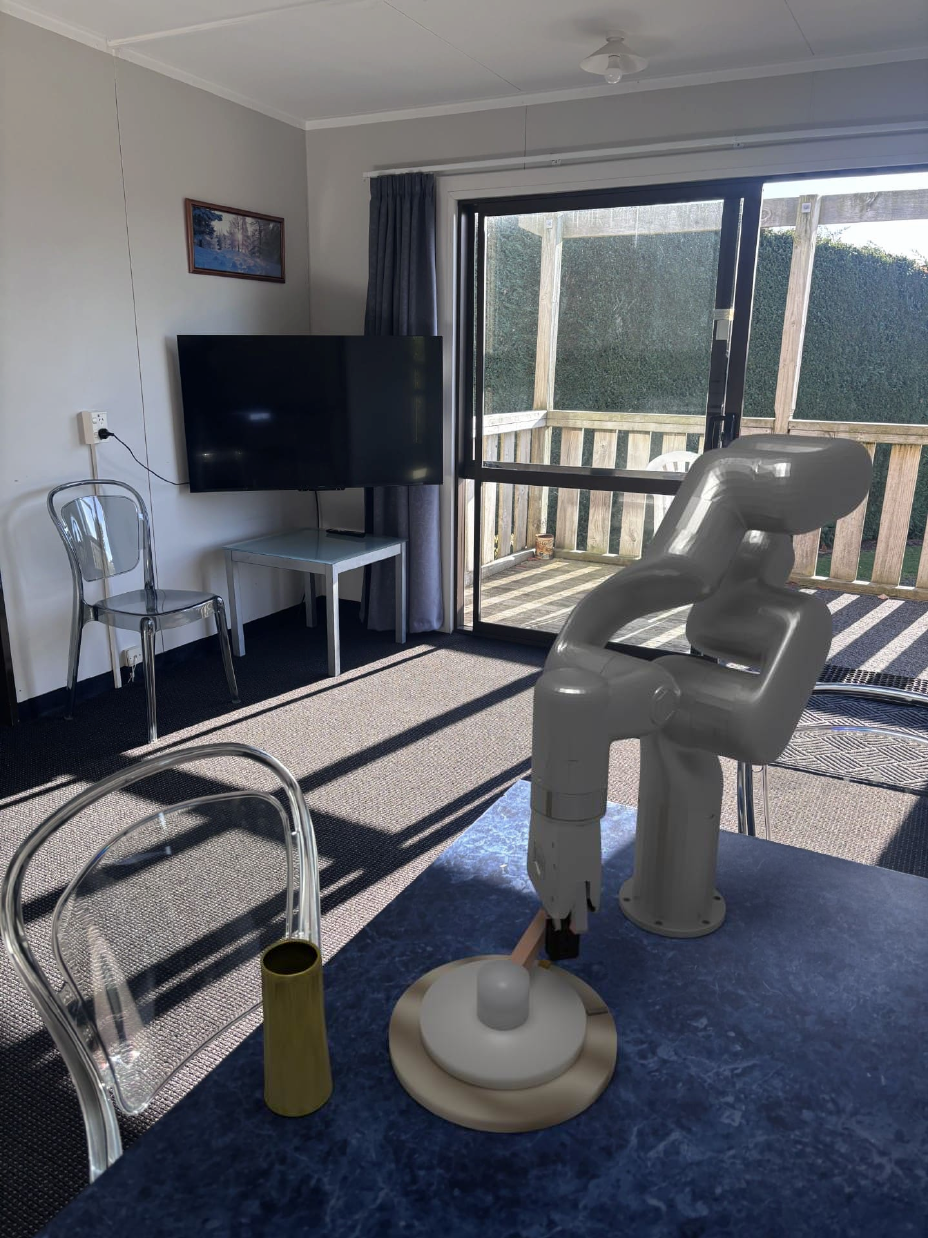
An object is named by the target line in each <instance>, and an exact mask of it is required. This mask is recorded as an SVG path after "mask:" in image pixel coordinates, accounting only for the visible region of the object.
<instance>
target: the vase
mask: <svg viewBox="0 0 928 1238" xmlns="http://www.w3.org/2000/svg"><path fill="white" fill-rule="evenodd" d="M259 965H260V976H261V977H260V980H261V1000H262V1001H261V1002H262V1004H261V1005H262V1018H263V1019H262V1021H263V1063H264V1065H263V1066H264V1068H263V1071H264V1072H263V1073H264V1091H263V1097H264V1101H265V1103H266V1105H267V1106H268V1108H269V1109H270V1110H271V1111H272V1112H274V1113H276V1114H278V1115H281V1116H285V1117H291V1118H295V1117H297V1118H298V1117H302V1116H307V1115H309V1114H312V1113H314V1112H316V1111H317V1110H319V1109H320V1108H322V1106H324V1104H325V1103H327V1101H328V1100H329V1098H330V1097H331V1095H332V1091H333V1087H334V1086H333V1083H334V1082H333V1079H332V1071H331V1063H330V1054H329V1044H328V1036H327V1028H326V1017H325V999H324V997H325V996H324V980H323V979H324V978H323V975H324V974H323V957H322V953H321V950H320V948H319V947H318V945H316V944H315V943H314V942H312V941H310V940H307V939H304V938H287V939H283V940H280V941H278V942H275V943H273V944H271V945H269V946H267V948H266V949H264V951H263V952H262V954H261V956H260V959H259Z"/></svg>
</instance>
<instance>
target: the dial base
mask: <svg viewBox="0 0 928 1238" xmlns="http://www.w3.org/2000/svg"><path fill="white" fill-rule="evenodd" d="M510 956H511V954H486V955H485V954H484V955H483V954H482V955H476V956H470V957H465V958H461V959H457V960H454V961H451V962H449V963H445V964H443V965H440V966H438V967H435V968H434V969H432V970H430V971H428V972H427V973H425V974H424V975H422V976H420V977H419V978H418V979H416V980H415V981H414V982H413V983H412V984H411V985H409V987H408V988H406V990H405V991H404V992H403V994H402V995H401V996H400V998H399V999H398V1001H397V1002H396V1004H395V1006H394V1008H393V1011H392V1013H391V1016H390V1020H389V1026H388V1027H389V1028H388V1040H389V1041H388V1042H389V1043H388V1045H389V1046H388V1047H389V1049H388V1051H389V1056H390V1061H391V1066H392V1068H393V1070H394V1073H395V1075H396V1078H397V1079H398V1081H399V1082H400V1084H401V1085H402V1087H403V1088H404V1089H405V1091H406V1092H407V1093H408V1094H409V1095H410V1096H411V1097H412V1098H413V1099H414V1100H415V1101H416V1102H418V1104H419V1105H421V1106H422V1107H424V1109H426V1110H428V1111H429V1112H431V1113H433V1115H435V1116H438V1117H440V1118H441V1119H444V1120H446V1121H448V1122H450V1123H453V1124H456V1125H458V1126H461V1127H463V1128H468V1129H473V1130H477V1131H481V1132H491V1133H503V1134H504V1133H505V1134H507V1133H508V1134H513V1133H526V1132H527V1133H528V1132H533V1131H538V1130H543V1129H547V1128H549V1127H550V1128H551V1127H553V1126H556V1125H559V1124H561V1123H564V1122H566V1121H568V1120H570V1119H572V1118H574V1117H576V1116H577V1115H579V1114H581V1113H582V1112H584V1111H585V1110H587V1109H588V1108H589V1107H590V1106H591V1105H592V1104H594V1103H595V1102H596V1101H597V1100H598V1099H599V1098H600V1096H601V1095H602V1094H603V1092H605V1089H606V1088H607V1086H608V1085H609V1083H610V1082H611V1079H612V1076H613V1075H614V1074H613V1073H614V1071H615V1067H616V1063H617V1052H618V1034H617V1028H616V1023H615V1020H614V1018H613V1015H612V1012H611V1011H610V1009H609V1007H608V1005H607V1004H606V1003H605V1001H604V1000H603V999H602V997H601V996H600V995H599V994H598V993H597V992H596V991H595V990H594V989H593V988H592V986H590V985H589V984H588V983H587V982H585V981H584V980H582V979H581V978H579V977H578V976H577V975H575V974H573V973H572V972H570V971H568V970H566V969H564V968H562V967H560V966H557V965H554V964H552V961H550V960H549V959H545V958H541V960H540V959H537V958H536V959H535V961H534V963H533V964H535V965H538V966H541V967H543V968H545V969H547V970H550V971H551V972H553V973H555V974H557V975H558V976H560V977H561V978H562V979H564V980H565V981H566V982H567V983H568V984H570V985H571V986H572V988H573V989H574V990H575V991H576V992H577V994H578V995H579V997H580V999H581V1001H582V1003H583V1005H584V1008H585V1013H586V1035H585V1042H584V1046H583V1048H582V1051H581V1053H580V1055H579V1056H578V1058H577V1059H576V1061H575V1062H574V1063H573V1064H572V1065H571V1066H570V1067H569V1068H568V1069H567V1070H566V1071H565V1072H563V1073H562V1074H560V1075H559V1076H557V1077H555V1078H553V1079H551V1080H549V1081H547V1082H545V1083H542V1084H539V1085H536V1086H532V1087H527V1088H520V1089H491V1088H486V1087H480V1086H477V1085H473V1084H470V1083H467V1082H465V1081H462V1080H460V1079H458V1078H456V1077H454V1076H452V1075H451V1074H449V1073H448V1072H446V1071H445V1070H443V1069H442V1068H441V1067H440V1066H439V1065H438V1064H437V1063H435V1062H434V1060H433V1059H432V1058H431V1057H430V1055H429V1054H428V1052H427V1051H426V1049H425V1047H424V1045H423V1042H422V1039H421V1033H420V1008H421V1003H422V1000H423V998H424V996H425V994H426V992H427V991H428V989H429V988H430V987H431V986H432V984H433V983H434V982H435V981H436V980H438V979H439V978H440V977H441V976H443V975H444V974H446V973H447V972H449V971H451V970H453V969H455V968H457V967H459V966H462V965H465V964H468V963H471V962H476V961H481V960H490V959H509V957H510Z"/></svg>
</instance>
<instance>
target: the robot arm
mask: <svg viewBox="0 0 928 1238" xmlns="http://www.w3.org/2000/svg"><path fill="white" fill-rule="evenodd" d="M873 475H874V466H873V460H872V455H871V454H870V452H869V450H868V449H867V448H866V446H864V444H862V443H861V442H859V441H857V440H856V439H855V440H854V439H851V438H845V437H844V438H843V437H829V436H814V435H812V436H811V435H802V434H801V435H799V434H788V433H787V434H786V433H753V434H752V433H751V434H746V435H742V436H739V437H737V438H735V439H733V440H732V441H731V442H730V443H729V444H728V445H727V447H720V448H719V447H717V448H713V449H710V450H707V451H705V452H703V453H701V454H700V455H699V456H697V458H696V459H695V460H694V462H693V463H692V464H691V465H690V467H689V468H688V470H687V472H686V474H685V476H684V478H683V479H682V481H681V484H680V486H679V488H678V490H677V491H676V493H675V495H674V497H673V499H672V501H671V503H670V505H669V507H668V508H667V511H666V512H665V515H664V516H663V518H662V520H661V522H660V523H659V525H658V528H657V530H656V531H655V533H654V535H653V537H652V539H651V541H650V542H649V545H648V547H647V549H646V550H645V552H644V553H643V555H642V556H641V557H640V558H639V559H637V560H636V561H634V562H632V563H630V564H629V565H627V566H625V567H623V568H621V569H620V570H619V571H617V572H615V573H614V574H613V575H610V576H609V577H608V578H607V579H604V581H602V582H601V583H600V584H598V585H597V586H596V587H594V588H593V589H592V590H591V591H589V592H587V593H586V594H585V596H583V597H582V598H581V599H580V600H579V601H578V602H577V603H576V604H575V606H574V607H573V608H572V610H571V611H570V613H569V614H568V616H567V617H566V620H565V621H564V623H563V624H562V627H561V629H560V631H559V632H558V634H557V636H556V639H555V640H554V642H553V643H552V646H551V648H550V650H549V652H548V655H547V656H546V657H547V658H546V659H545V663H544V666H543V671H542V674H541V675H540V676H539V677H538V679H537V680H536V682H535V684H534V688H533V695H532V696H533V697H532V698H533V699H532V732H531V733H532V734H531V735H532V736H531V763H530V764H531V767H530V768H531V770H530V771H531V773H530V793H529V794H530V797H529V807H530V808H529V809H530V817H529V827H528V838H527V839H528V840H527V854H526V871H527V876H528V878H529V880H530V883H531V884H532V886H533V889H534V890H535V892H536V894H537V896H538V898H539V900H540V902H541V904H542V905H544V907H545V910H546V915H547V917H551V919H546V929H545V944H544V951H545V953H546V955H547V957H548V960H549V961H551V962H558V961H567V960H571V959H574V960H575V959H577V958H578V957H580V941H581V940H580V938H581V934H587V933H588V931H589V930H588V928H589V927H588V926H589V925H588V924H589V923H588V912H589V914H591V916H596V914H597V913H598V912H599V909H600V905H601V896H602V876H603V875H602V872H603V870H602V869H603V862H602V861H603V859H602V858H603V857H602V855H603V854H602V849H603V848H602V827H601V820H602V819H604V817H605V816H606V815H607V809H608V807H607V806H608V794H609V793H608V790H609V789H608V788H609V775H610V774H609V773H610V772H609V770H610V758H611V757H610V752H611V746H612V744H613V743H614V742H618V741H623V740H624V741H625V740H631V739H637V738H638V739H639V751H640V752H639V754H640V755H639V756H640V757H639V778H638V792H637V793H638V794H637V795H638V797H637V810H636V825H635V826H636V827H635V842H634V856H633V857H634V858H633V859H634V860H633V874H632V876H631V877H629V878H628V879H627V880H625V881H624V882H623V884H622V885H621V887H620V889H619V890H618V891H619V892H618V905H619V907H620V908H619V909H620V910H621V912H622V913H623V914H624V916H625V917H626V918H627V919H628V920H629V921H630V922H632V923H633V924H634V925H637V926H638V927H640V928H642V929H644V930H646V932H647V931H648V932H650V933H653V934H656V935H659V936H664V937H669V938H676V939H677V938H679V939H682V938H683V939H685V938H686V939H687V938H697V937H702V936H705V935H708V934H711V933H712V932H715V931H716V930H717V929H719V927H721V926H722V925H723V923H724V921H725V918H726V913H727V912H726V910H727V905H726V902H725V899H724V898H723V896H722V894H721V892H719V891H718V890H717V888H715V883H716V872H717V859H718V851H719V839H720V830H721V829H720V827H721V815H722V807H723V805H722V804H723V796H724V787H725V786H724V781H725V779H724V772H723V768H722V764H721V761H720V758H719V757H720V756H721V757H723V758H727V759H730V760H732V761H736V762H740V763H743V764H747V765H751V766H757V767H762V766H763V767H764V766H767V765H770V764H772V763H774V762H775V761H777V760H778V759H779V758H780V757H781V756H782V755H783V753H784V752H785V750H786V749H787V748H788V745H789V743H790V741H791V739H792V737H793V735H794V733H795V731H796V729H797V727H798V725H799V722H800V720H801V718H802V716H803V713H804V711H805V709H806V707H807V704H808V702H809V700H810V698H811V696H812V693H813V691H814V689H815V687H816V684H817V682H818V680H819V678H820V676H821V673H823V669H824V666H825V665H826V662H827V659H828V657H829V654H830V650H831V646H832V642H833V635H834V620H833V615H832V611H831V610H830V608H829V606H828V605H827V604H826V603H825V602H824V600H822V599H821V598H819V597H818V596H816V595H813V594H810V593H808V592H805V591H799V590H795V589H789V588H785V587H786V586H787V583H788V580H789V578H790V575H791V574H792V571H793V569H794V566H795V561H796V553H795V548H794V546H793V543H792V540H791V537H790V536H800V535H806V534H809V533H812V532H815V531H817V530H819V529H821V528H824V527H826V526H828V525H829V524H832V523H834V522H836V521H839V520H841V519H843V518H845V517H847V516H849V515H851V514H852V513H853V512H855V510H856V509H858V507H860V506H861V504H862V503H863V502H864V500H865V499H866V497H867V495H868V493H869V491H870V489H871V487H872V486H871V485H872V482H873V477H874V476H873ZM690 605H692V606H691V608H690V609H689V610H690V611H689V613H688V615H687V618H686V621H685V631H684V633H685V637H686V640H687V642H688V644H689V645H690V646H691V647H692V648H693V649H694V650H696V651H698V652H700V653H701V654H704V655H706V656H709V657H710V658H713V659H717V660H720V661H724V662H728V663H730V664H731V663H732V664H735V665H739V666H744V667H747V668H750V669H755V670H758V671H760V672H759V673H758V674H757V673H753V672H750V671H746V670H742V669H737V668H735V667H734V668H733V667H730V666H728V665H724V664H721V663H717V662H712V661H710V660H705V659H701V658H698V657H694V656H689V655H682V654H681V655H680V654H679V655H678V654H671V655H670V654H667V655H663V656H659V657H657V658H654V659H653V660H651V661H649V660H645V659H642V658H638V657H635V656H632V655H628V654H626V653H625V654H624V653H621V652H618V651H614V650H612V649H607V648H605V647H606V645H607V643H608V642H609V641H610V639H612V638H613V637H614V635H616V634H617V632H618V631H619V630H621V629H623V628H624V627H625V626H627V625H628V624H630V623H632V622H634V621H636V620H638V619H640V618H643V617H645V616H649V615H651V614H652V615H653V614H655V613H660V612H664V611H668V610H672V609H673V610H674V609H676V608H677V609H678V608H681V607H684V606H690Z"/></svg>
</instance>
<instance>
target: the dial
mask: <svg viewBox="0 0 928 1238" xmlns="http://www.w3.org/2000/svg"><path fill="white" fill-rule="evenodd" d="M546 919H551V917H547V915H546V910H545V907H544V905H543V904H542V905H541V906H540V908H539V910H538V911H537V913H536V915H535V916H534V918H533V920H532V921H531V923H530V924H529V926H528V927H527V929H526V930H525V932H524V934H523V935H522V936H521V938H520V939H519V941H518V943H517V944H516V947H515V948H514V950H513V951H512V953H510V955H511V956H510V957H509V959H490V960H481V961H476V962H471V963H468V964H465V965H462V966H459V967H457V968H455V969H453V970H451V971H449V972H447V973H446V974H444V975H443V976H441V977H440V978H439V979H438V980H436V981H435V982H434V983H433V984H432V986H431V987H430V988H429V989H428V991H427V992H426V994H425V996H424V998H423V1000H422V1003H421V1008H420V1033H421V1039H422V1042H423V1045H424V1047H425V1049H426V1051H427V1052H428V1054H429V1055H430V1057H431V1058H432V1059H433V1060H434V1062H435V1063H437V1064H438V1065H439V1066H440V1067H441V1068H442V1069H443V1070H445V1071H446V1072H448V1073H449V1074H451V1075H452V1076H454V1077H456V1078H458V1079H460V1080H462V1081H465V1082H467V1083H470V1084H473V1085H477V1086H480V1087H486V1088H491V1089H520V1088H527V1087H532V1086H536V1085H539V1084H542V1083H545V1082H547V1081H549V1080H551V1079H553V1078H555V1077H557V1076H559V1075H560V1074H562V1073H563V1072H565V1071H566V1070H567V1069H568V1068H569V1067H570V1066H571V1065H572V1064H573V1063H574V1062H575V1061H576V1059H577V1058H578V1056H579V1055H580V1053H581V1051H582V1048H583V1046H584V1042H585V1035H586V1013H585V1008H584V1005H583V1003H582V1001H581V999H580V997H579V995H578V994H577V992H576V991H575V990H574V989H573V988H572V986H571V985H570V984H568V983H567V982H566V981H565V980H564V979H562V978H561V977H560V976H558V975H557V974H555V973H553V972H551V971H550V970H547V969H545V968H543V967H541V966H538V965H535V964H533V963H534V961H535V959H536V960H537V957H538V956H539V954H540V952H541V951H542V949H543V947H545V929H546Z"/></svg>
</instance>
